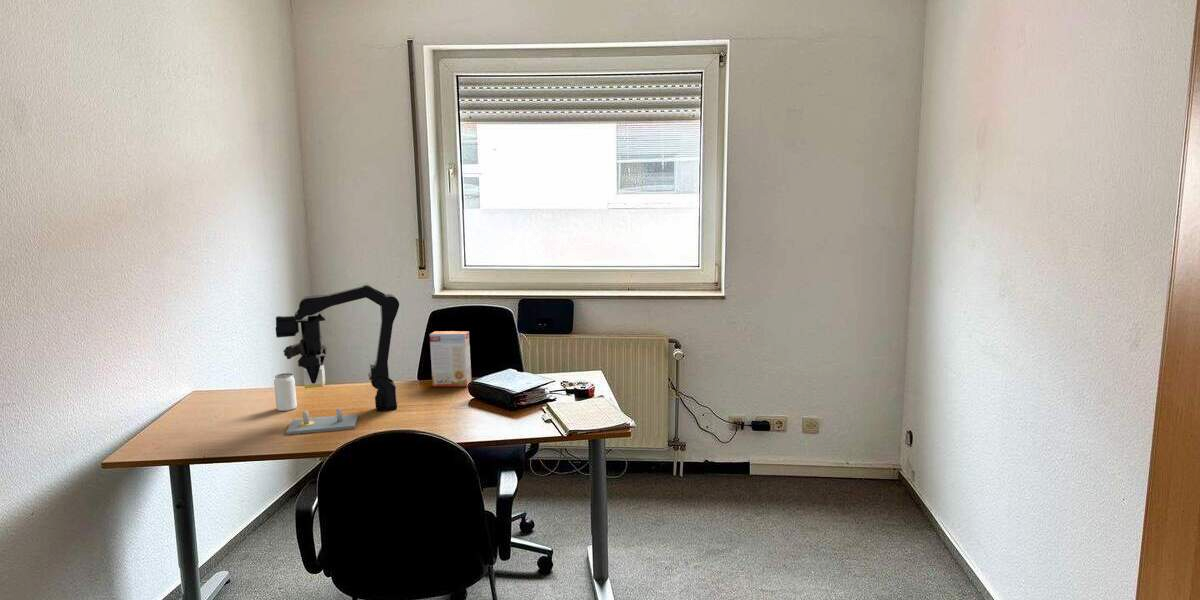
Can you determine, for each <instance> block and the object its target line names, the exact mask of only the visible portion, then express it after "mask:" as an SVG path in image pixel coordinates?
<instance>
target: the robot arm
mask: <svg viewBox="0 0 1200 600" xmlns="http://www.w3.org/2000/svg"><path fill="white" fill-rule="evenodd" d="M365 298H366V299H368V300H370V301H371V302H373V303H375V304H377V305H378V306H379V309H380V321H381V322H380V328H379V335H378V343H377V348H376V349H377V350H376V358H375V361H374V364H371V363H369V373H368V374H367V376H368V380H369V381H370V383H371V385H372V387H373V388H374V389H375V390H376V394H375V396H374V400H375V401H374V403H375V408H376V412H381V411H382V412H383V411H384V412H385V411H392V410H393V411H394V410H398V409H397V408H398V400H397V387H396V385H395V382H394V380H392V378H390V374H389V364H388V362H389V354H390V347H391V340H392V332H393V327H394V326H393V325H394V322H395V319H396V317H397V315H398V312H399V308H400V301H399V300H398V298H397V297H396V296H395V295H393V294H388V293H383V292H382V291H380V290H378V289H376V288H374V287H372V286H371V285H369V284H364V285H362V286H358V287H354V288H350V289H346V290H343V291H342V290H341V291H337V292H334V293H330V294H329V293H328V294H316V295H315V294H314V295H306V296H304V297H302V298H301V299H300V301H299V305H298V309H297V311H296V312H295V313H294V315H285V316H281V315H279V316H278V315H277V316H276V317H275V336H276V338H279V339H280V338H288V337H296V335H297V334H299V333H300V332H301V339H300V340H299V342H298V343H295V344H293V345H292V344H291V345H289V346H286V347H285V349H283V355H284V356H285V357H286V359H287V360H291V359H292V358H294V357H296V356H299V355H300V357H299V359H298V360H297V364H298V365H297V366H298V367H301V368H303V369H306V370H307V372H308V374H309V377H310V380H311V383H316V379H317V376H318V373H319V369H320V366H321V365H324V363H325V359H326V355H327V347H326V345H323V344H322V339H323V336H322V335H321V322H323V321H326V317H325V316H324V315H323V314H322V313H321V312H322V311H325V310H326V309H328V308H330V307H334V306H337V305H341V304H346V303H350V302H354V301H358V300H362V299H365ZM317 313H318V314H317ZM315 314H317V315H315ZM305 317H307V318H305ZM299 326H300V327H299ZM300 330H301V331H300ZM322 354H323V355H322Z"/></svg>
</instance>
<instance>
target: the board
mask: <svg viewBox="0 0 1200 600" xmlns="http://www.w3.org/2000/svg"><path fill="white" fill-rule="evenodd" d="M342 409H343V408H342V407H341V408H339V407H338V408H336V415H331V416H330V415H329V416H321V417H318V416H317V417H309V411H307V410H305V411H303V412H302V417H303V418H298V419H292V421H291V423H290V424H289V426H288V427H287V430H286V431H285V436H290V435H289V434H293V435H301V434H300V433H303V434H311V432H313V433H322V432H331V431H332V432H333V431H341V430H342V431H343V430H352V429H353V430H354V429H356V425H357V421H358V419H359V413H352V414H343V410H342Z"/></svg>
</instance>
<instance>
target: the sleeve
mask: <svg viewBox="0 0 1200 600" xmlns="http://www.w3.org/2000/svg"><path fill="white" fill-rule="evenodd" d="M302 371H303V372H302V373H303V383H304V385H303V386H304V389H313V388H324V386H325V384H326V373H325V371H326V370H325V364H323V365H321V366H320V369H319V373H318V376H317V379H316V383H311V380H310V377H309V374H308V372H307V370H306V369H305V368H303V370H302Z"/></svg>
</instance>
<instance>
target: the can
mask: <svg viewBox="0 0 1200 600" xmlns="http://www.w3.org/2000/svg"><path fill="white" fill-rule="evenodd" d="M273 384H274V385H273V386H274V396H275V398H274V399H275V405H276V406H275V407H276V410H277V411H279V412H289V411H293V410H296V408H297V407H298V406H297V403H298V402H297V392H296V390H297V389H296V382H295V377H294V375H293V373H289V372H287V373H278V374H276V375H275V376H274V379H273Z"/></svg>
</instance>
